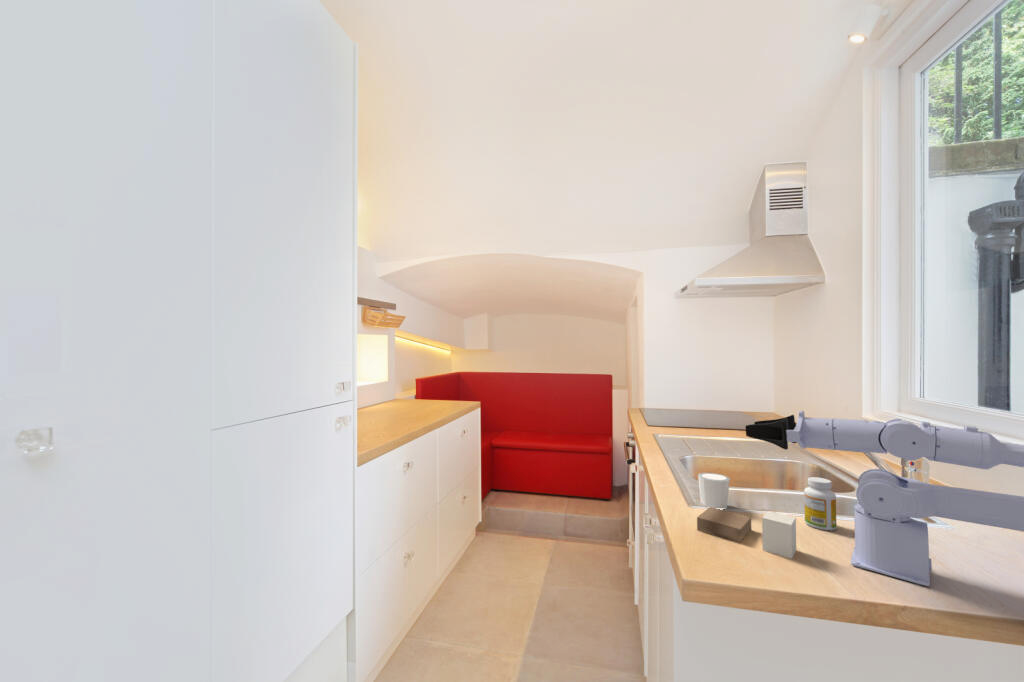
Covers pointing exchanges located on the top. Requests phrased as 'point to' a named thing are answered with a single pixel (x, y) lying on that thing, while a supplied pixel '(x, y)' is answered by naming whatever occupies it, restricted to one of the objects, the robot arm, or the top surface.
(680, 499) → the top surface
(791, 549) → the cream block
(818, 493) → the supplement bottle
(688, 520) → the top surface
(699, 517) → the walnut block
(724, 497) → the white cup
